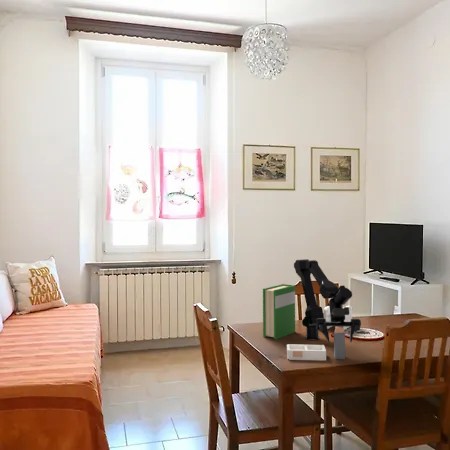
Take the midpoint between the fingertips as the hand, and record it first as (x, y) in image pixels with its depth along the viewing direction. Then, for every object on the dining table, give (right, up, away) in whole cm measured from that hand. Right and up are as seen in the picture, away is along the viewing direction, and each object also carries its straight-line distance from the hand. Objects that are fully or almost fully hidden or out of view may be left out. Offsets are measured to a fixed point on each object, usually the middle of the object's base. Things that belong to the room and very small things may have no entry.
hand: (339, 342), depth 199 cm
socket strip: (-14, -7, +3) cm, 16 cm away
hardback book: (-21, -6, +39) cm, 44 cm away
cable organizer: (+11, -5, +49) cm, 51 cm away
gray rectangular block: (0, -7, +1) cm, 7 cm away
